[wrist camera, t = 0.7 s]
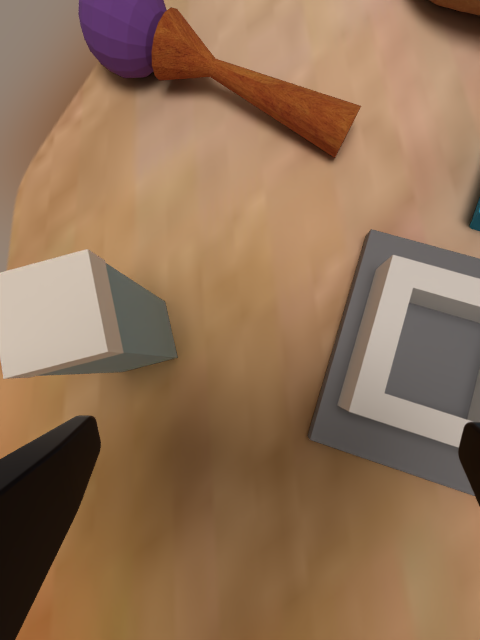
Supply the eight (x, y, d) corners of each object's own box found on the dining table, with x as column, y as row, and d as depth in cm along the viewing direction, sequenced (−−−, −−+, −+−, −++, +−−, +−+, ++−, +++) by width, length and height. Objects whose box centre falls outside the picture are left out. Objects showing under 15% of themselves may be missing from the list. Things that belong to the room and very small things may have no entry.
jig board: (481, 495, 22) (533, 525, 17) (307, 436, 23) (317, 451, 19) (531, 281, 23) (590, 262, 19) (365, 235, 24) (386, 209, 20)
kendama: (334, 157, 21) (45, 16, 22) (320, 186, 27) (92, 75, 28) (383, 61, 21) (84, -80, 21) (357, 113, 26) (124, 1, 27)
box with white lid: (178, 358, 24) (107, 351, 13) (120, 373, 24) (3, 378, 13) (165, 300, 25) (87, 249, 14) (109, 315, 25) (-13, 275, 14)
